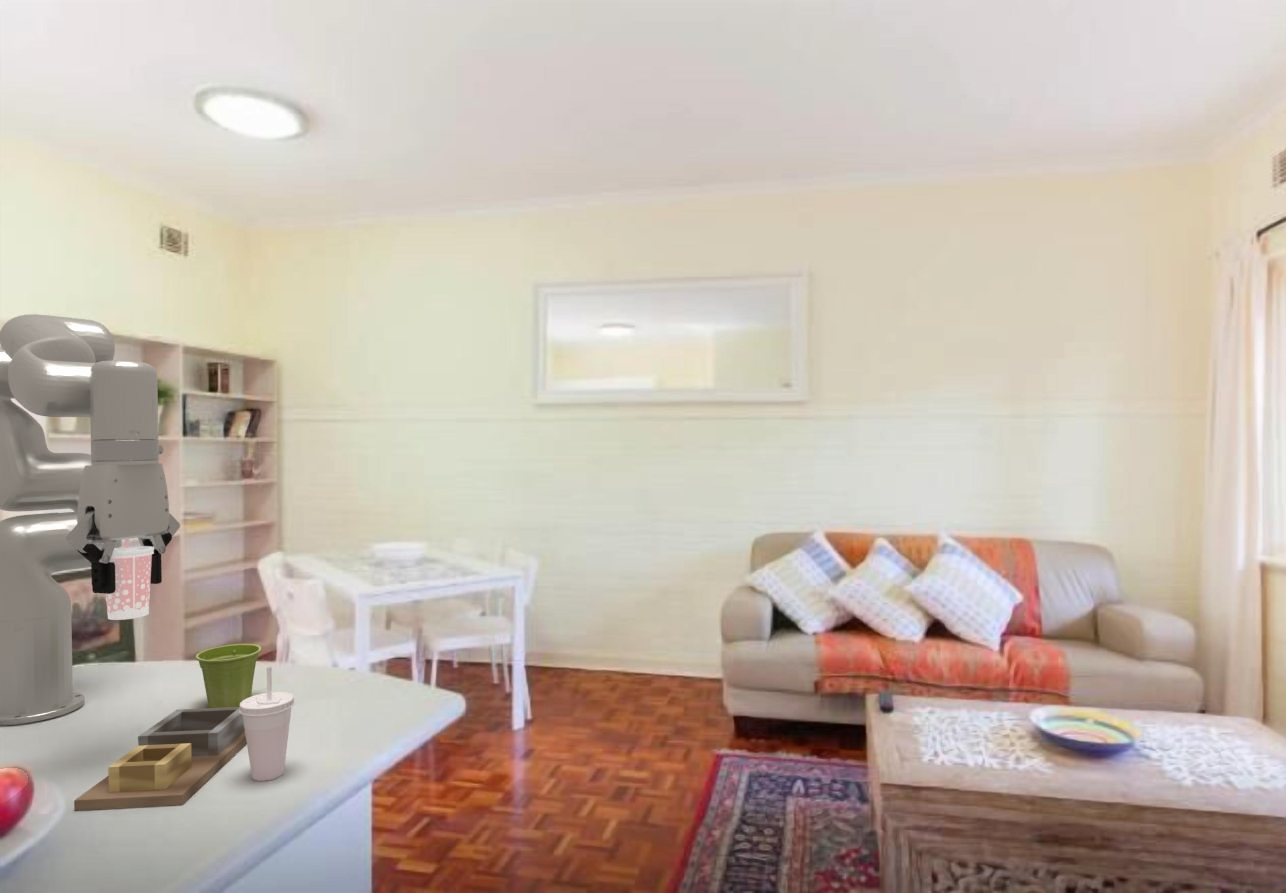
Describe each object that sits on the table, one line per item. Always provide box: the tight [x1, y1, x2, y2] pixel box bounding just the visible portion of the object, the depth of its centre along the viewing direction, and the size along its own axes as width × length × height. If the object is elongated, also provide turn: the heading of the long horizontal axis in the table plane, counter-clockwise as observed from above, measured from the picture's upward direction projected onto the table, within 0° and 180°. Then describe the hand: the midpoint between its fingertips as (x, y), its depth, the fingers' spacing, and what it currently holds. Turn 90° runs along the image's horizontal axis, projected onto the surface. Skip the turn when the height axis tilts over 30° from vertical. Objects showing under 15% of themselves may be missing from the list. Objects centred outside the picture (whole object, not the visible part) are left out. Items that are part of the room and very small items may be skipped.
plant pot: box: [195, 643, 262, 708], centre depth 125 cm, size 9×9×9 cm
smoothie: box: [239, 665, 295, 782], centre depth 98 cm, size 6×6×14 cm
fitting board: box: [73, 707, 247, 811], centre depth 100 cm, size 22×12×4 cm, turn 6°
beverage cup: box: [105, 539, 154, 621], centre depth 102 cm, size 6×6×14 cm
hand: (128, 586), depth 102 cm, fingers closed on beverage cup, 6 cm apart
